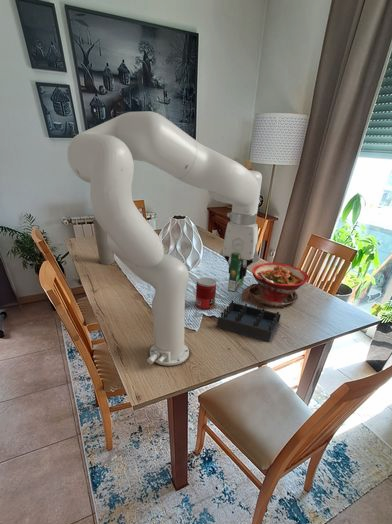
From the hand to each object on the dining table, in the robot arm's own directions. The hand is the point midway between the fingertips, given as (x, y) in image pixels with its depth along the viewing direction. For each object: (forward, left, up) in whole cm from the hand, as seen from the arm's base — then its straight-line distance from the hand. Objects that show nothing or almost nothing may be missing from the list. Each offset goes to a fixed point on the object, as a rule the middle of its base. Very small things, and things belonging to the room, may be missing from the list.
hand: (236, 276), depth 98 cm
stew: (+30, -8, -20) cm, 37 cm away
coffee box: (0, 0, -5) cm, 5 cm away
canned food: (+9, +15, -20) cm, 26 cm away
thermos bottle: (+28, +83, -20) cm, 90 cm away
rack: (+3, -6, -20) cm, 21 cm away
